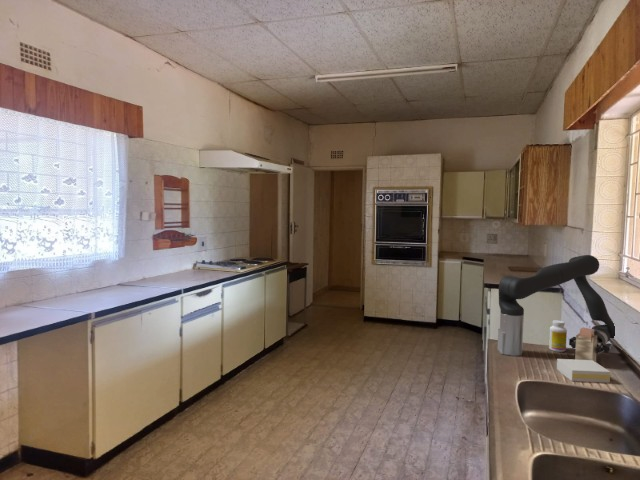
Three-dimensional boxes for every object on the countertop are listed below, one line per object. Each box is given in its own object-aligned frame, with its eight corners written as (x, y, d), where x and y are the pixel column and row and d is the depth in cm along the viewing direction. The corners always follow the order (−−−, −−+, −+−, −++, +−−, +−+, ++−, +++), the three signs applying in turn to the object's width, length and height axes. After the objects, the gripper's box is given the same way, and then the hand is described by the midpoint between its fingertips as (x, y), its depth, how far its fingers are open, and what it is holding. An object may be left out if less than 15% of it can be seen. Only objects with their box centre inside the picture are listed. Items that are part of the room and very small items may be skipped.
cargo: (579, 339, 174) (580, 329, 174) (582, 336, 177) (582, 327, 177) (590, 341, 171) (591, 331, 171) (593, 339, 174) (594, 329, 174)
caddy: (574, 363, 175) (576, 335, 174) (579, 359, 179) (580, 332, 178) (591, 367, 171) (593, 338, 170) (595, 363, 175) (597, 335, 174)
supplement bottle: (569, 352, 188) (570, 323, 187) (553, 352, 188) (555, 323, 187) (560, 347, 194) (562, 319, 193) (545, 347, 194) (547, 319, 194)
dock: (571, 381, 156) (572, 370, 156) (556, 368, 168) (557, 358, 168) (609, 382, 155) (610, 372, 155) (591, 370, 167) (592, 360, 167)
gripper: (577, 328, 189) (565, 335, 178) (615, 335, 179) (606, 343, 168) (576, 344, 190) (564, 353, 178) (614, 352, 180) (605, 362, 168)
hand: (584, 348), depth 173 cm, fingers open, 8 cm apart
